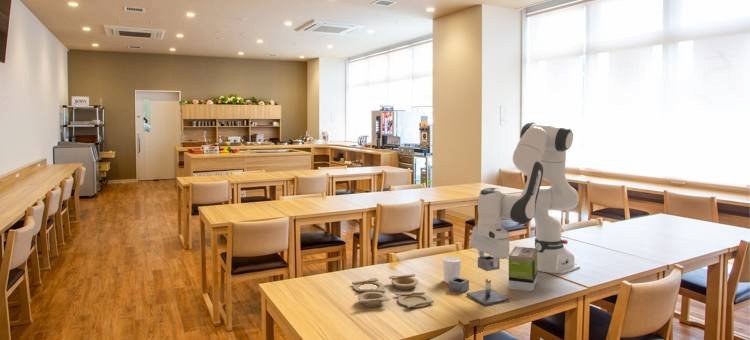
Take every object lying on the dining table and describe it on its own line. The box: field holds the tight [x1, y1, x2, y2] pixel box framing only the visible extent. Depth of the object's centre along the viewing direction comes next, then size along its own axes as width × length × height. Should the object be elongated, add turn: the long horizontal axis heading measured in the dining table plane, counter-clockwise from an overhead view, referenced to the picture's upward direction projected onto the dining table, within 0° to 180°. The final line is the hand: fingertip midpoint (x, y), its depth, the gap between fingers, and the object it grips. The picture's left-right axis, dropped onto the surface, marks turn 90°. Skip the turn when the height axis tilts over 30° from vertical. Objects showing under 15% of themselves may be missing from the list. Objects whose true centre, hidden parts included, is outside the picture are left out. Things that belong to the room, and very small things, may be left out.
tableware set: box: [351, 273, 435, 309], centre depth 199 cm, size 35×29×4 cm
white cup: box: [442, 256, 462, 284], centre depth 214 cm, size 8×8×10 cm
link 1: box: [448, 277, 470, 294], centre depth 204 cm, size 6×6×4 cm
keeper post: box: [466, 278, 511, 307], centre depth 194 cm, size 12×12×8 cm
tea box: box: [508, 246, 538, 292], centre depth 208 cm, size 15×10×15 cm
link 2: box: [477, 254, 501, 272], centre depth 192 cm, size 6×6×4 cm
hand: (488, 264), depth 192 cm, fingers closed on link 2, 6 cm apart
